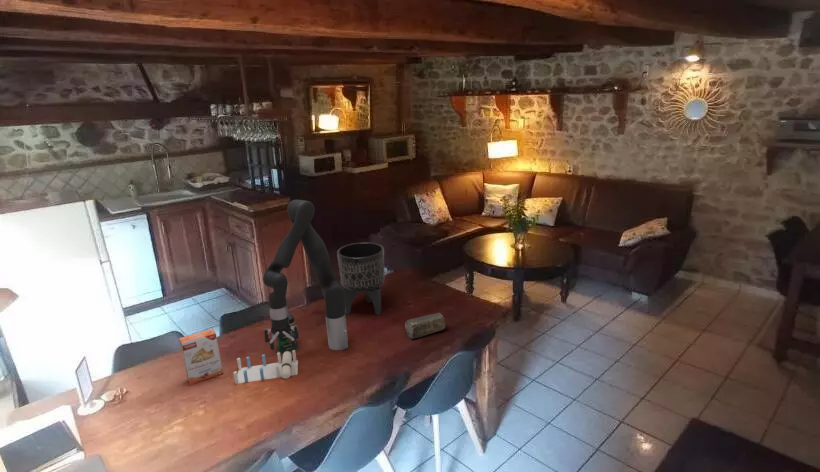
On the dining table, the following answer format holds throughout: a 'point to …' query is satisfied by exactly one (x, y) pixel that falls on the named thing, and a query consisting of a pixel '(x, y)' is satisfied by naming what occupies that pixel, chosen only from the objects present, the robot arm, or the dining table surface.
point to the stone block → (424, 325)
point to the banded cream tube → (286, 365)
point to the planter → (362, 272)
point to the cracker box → (201, 356)
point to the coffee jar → (285, 342)
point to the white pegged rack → (263, 370)
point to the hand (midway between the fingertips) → (283, 348)
